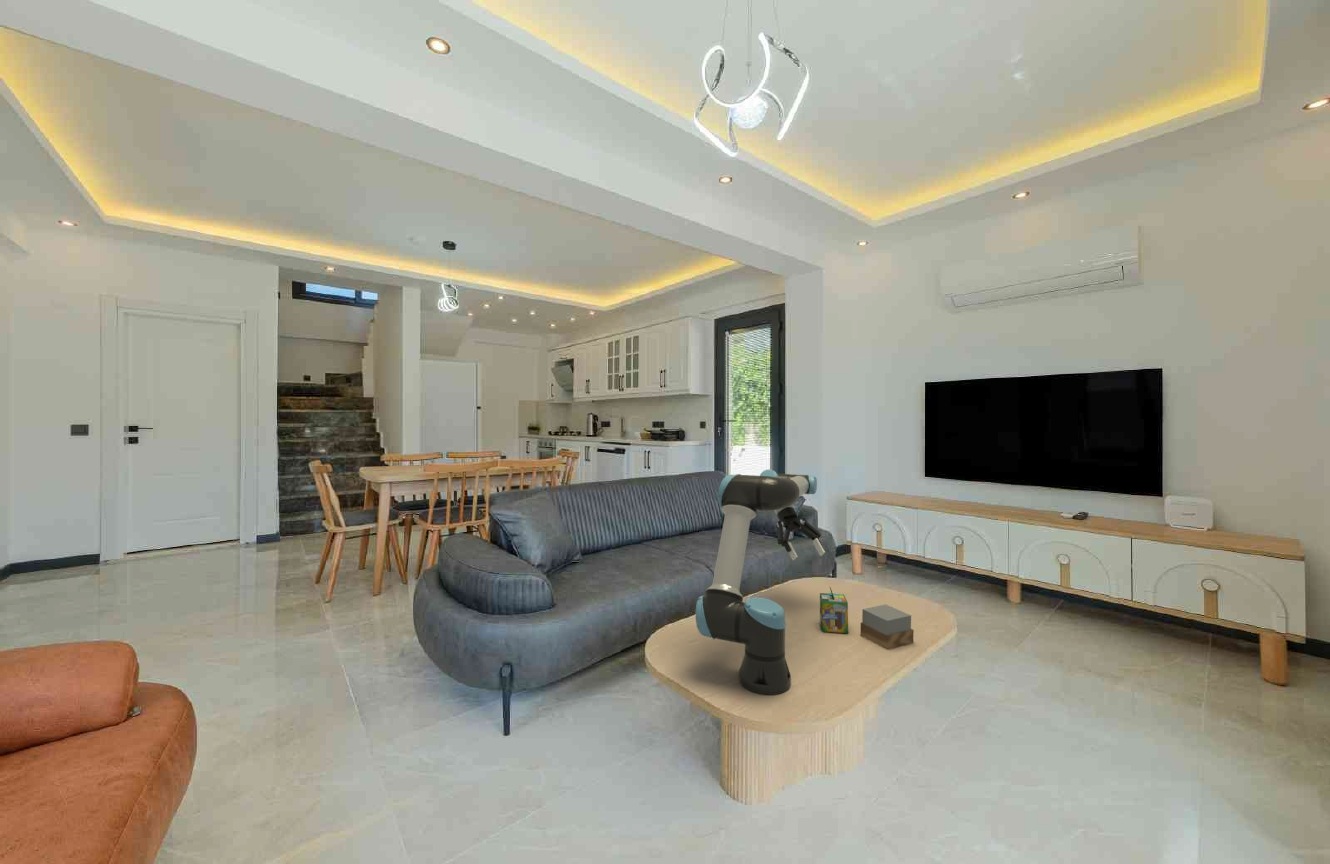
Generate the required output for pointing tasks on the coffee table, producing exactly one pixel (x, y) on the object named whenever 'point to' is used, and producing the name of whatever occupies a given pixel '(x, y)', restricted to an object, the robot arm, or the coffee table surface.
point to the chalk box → (833, 613)
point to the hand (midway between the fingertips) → (809, 556)
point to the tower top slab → (886, 619)
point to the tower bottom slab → (887, 637)
